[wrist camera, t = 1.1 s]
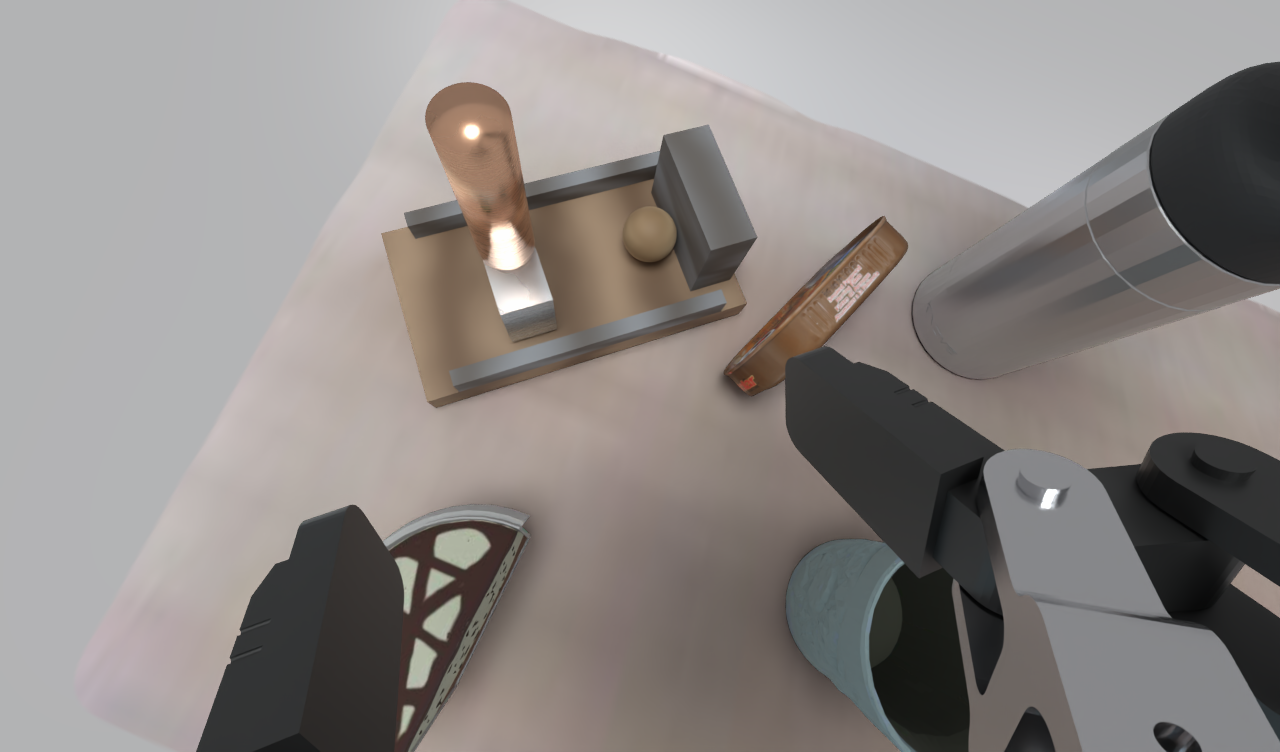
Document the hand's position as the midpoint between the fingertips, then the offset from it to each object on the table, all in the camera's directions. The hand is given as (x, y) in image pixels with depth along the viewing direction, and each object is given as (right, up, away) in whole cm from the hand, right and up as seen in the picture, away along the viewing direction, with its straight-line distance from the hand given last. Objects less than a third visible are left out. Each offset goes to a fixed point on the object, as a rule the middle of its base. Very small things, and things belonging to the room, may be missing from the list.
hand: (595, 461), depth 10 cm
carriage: (-7, +8, +25) cm, 27 cm away
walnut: (+1, +11, +27) cm, 29 cm away
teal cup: (+14, -14, +25) cm, 31 cm away
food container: (-11, -11, +22) cm, 27 cm away
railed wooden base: (-4, +8, +28) cm, 29 cm away
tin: (+12, +5, +29) cm, 32 cm away
